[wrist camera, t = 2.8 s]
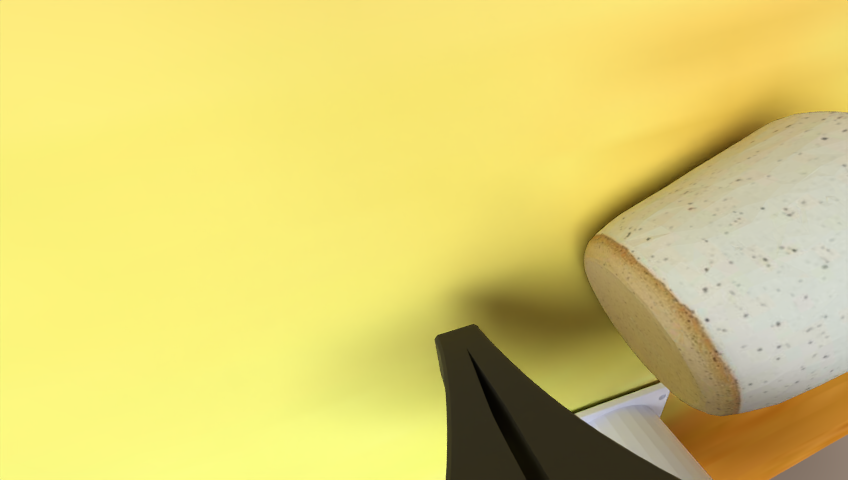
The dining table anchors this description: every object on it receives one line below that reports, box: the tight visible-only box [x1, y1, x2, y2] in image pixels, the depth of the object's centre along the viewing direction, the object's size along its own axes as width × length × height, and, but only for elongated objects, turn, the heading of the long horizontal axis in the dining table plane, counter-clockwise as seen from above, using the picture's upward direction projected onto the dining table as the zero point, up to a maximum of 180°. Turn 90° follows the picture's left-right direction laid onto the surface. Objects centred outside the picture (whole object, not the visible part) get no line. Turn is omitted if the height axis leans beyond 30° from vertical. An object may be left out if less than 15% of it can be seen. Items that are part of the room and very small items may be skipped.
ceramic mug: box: [584, 112, 848, 416], centre depth 14 cm, size 11×8×8 cm
